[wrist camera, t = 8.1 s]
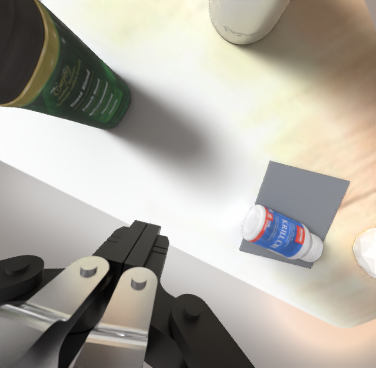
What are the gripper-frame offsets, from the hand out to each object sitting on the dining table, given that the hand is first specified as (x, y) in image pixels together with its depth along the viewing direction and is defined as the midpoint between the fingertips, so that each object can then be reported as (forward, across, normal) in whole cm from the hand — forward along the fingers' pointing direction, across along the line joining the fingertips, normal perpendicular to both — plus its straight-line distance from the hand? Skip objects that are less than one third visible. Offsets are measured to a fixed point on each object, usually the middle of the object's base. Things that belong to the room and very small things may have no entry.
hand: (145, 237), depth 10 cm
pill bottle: (+14, -11, +3) cm, 19 cm away
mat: (+18, -19, +2) cm, 26 cm away
